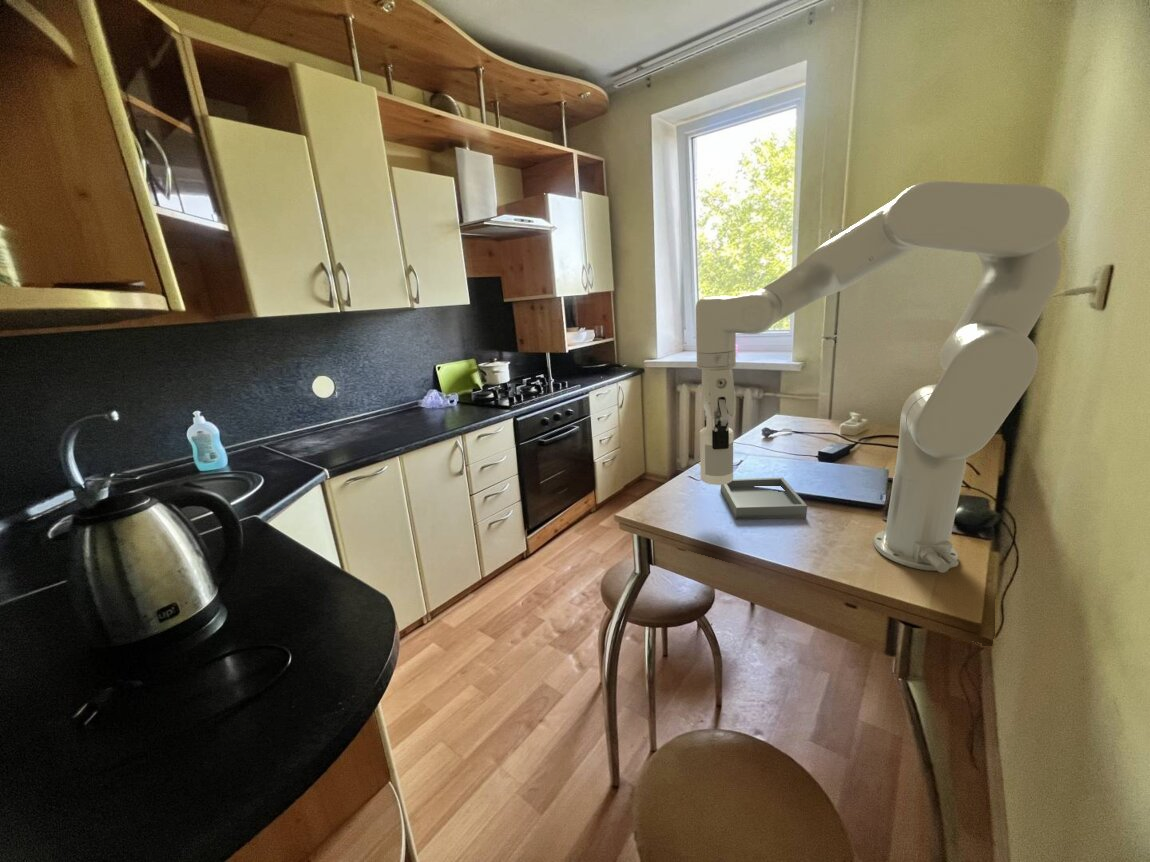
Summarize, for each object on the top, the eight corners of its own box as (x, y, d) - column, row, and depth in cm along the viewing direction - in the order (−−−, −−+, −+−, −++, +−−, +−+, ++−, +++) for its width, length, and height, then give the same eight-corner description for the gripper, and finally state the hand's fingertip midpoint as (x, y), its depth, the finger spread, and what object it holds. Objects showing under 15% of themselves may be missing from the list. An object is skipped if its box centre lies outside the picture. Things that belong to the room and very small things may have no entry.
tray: (806, 518, 98) (807, 505, 97) (735, 519, 100) (736, 507, 99) (781, 488, 113) (782, 477, 112) (720, 490, 114) (721, 479, 113)
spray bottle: (717, 488, 94) (717, 405, 89) (693, 478, 100) (692, 400, 95) (739, 479, 97) (740, 398, 92) (715, 470, 103) (715, 394, 98)
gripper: (747, 364, 82) (745, 455, 87) (724, 352, 99) (724, 429, 104) (705, 368, 83) (706, 458, 88) (690, 355, 100) (691, 431, 105)
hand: (716, 442), depth 96 cm, fingers closed on spray bottle, 6 cm apart
